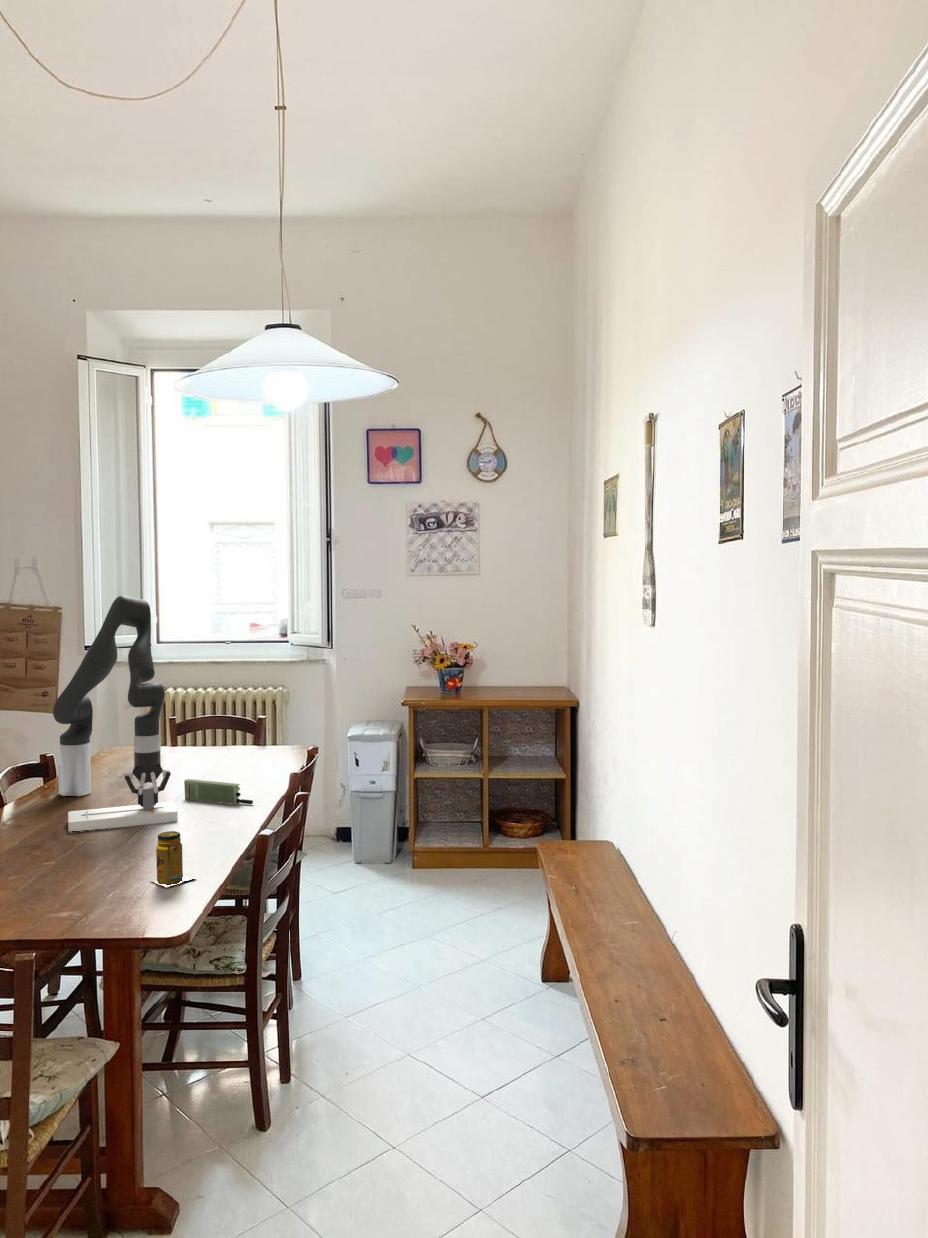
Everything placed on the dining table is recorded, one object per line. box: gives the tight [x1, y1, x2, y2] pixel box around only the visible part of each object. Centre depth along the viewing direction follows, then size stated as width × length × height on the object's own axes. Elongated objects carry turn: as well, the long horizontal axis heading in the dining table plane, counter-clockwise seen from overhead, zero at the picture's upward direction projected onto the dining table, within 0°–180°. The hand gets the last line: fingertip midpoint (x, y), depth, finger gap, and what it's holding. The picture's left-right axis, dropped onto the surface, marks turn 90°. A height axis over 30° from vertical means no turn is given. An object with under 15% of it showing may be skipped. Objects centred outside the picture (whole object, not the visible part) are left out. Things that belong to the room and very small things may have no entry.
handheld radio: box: [184, 778, 254, 805], centre depth 292 cm, size 7×3×25 cm
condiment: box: [155, 830, 184, 885], centre depth 220 cm, size 7×8×12 cm
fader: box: [142, 785, 154, 810], centre depth 272 cm, size 3×5×6 cm, turn 24°
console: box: [67, 801, 179, 832], centre depth 270 cm, size 30×12×3 cm, turn 114°
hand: (148, 805), depth 273 cm, fingers closed on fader, 3 cm apart
